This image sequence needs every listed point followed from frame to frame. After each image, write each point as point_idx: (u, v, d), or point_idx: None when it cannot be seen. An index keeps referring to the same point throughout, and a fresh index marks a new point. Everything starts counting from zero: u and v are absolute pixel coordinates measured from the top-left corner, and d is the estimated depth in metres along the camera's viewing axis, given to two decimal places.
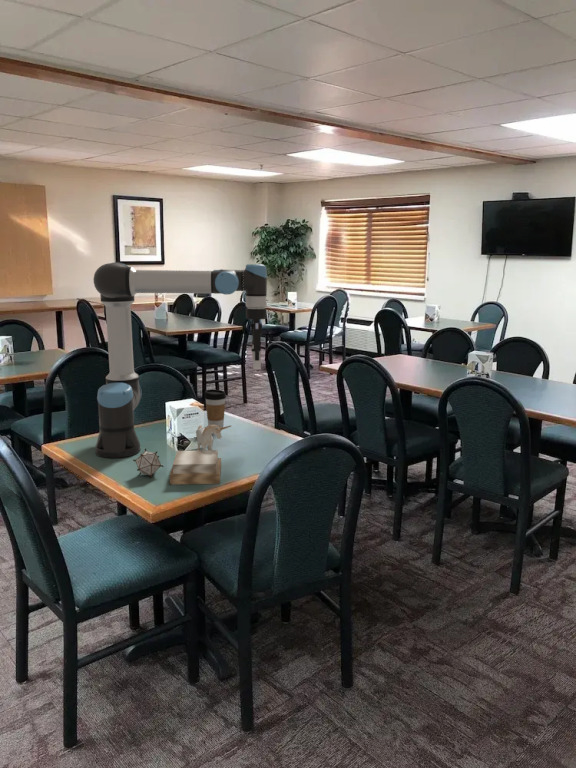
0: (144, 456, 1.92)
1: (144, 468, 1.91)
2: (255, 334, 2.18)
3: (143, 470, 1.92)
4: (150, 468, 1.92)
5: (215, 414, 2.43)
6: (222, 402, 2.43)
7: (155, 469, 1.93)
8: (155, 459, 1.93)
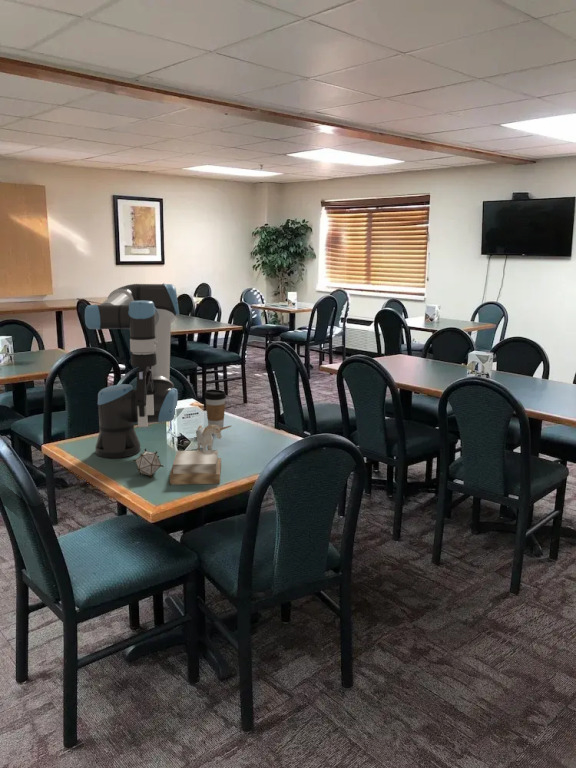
0: (144, 456, 1.92)
1: (144, 468, 1.91)
2: (138, 385, 1.81)
3: (143, 470, 1.92)
4: (150, 468, 1.92)
5: (215, 414, 2.43)
6: (222, 402, 2.43)
7: (155, 469, 1.93)
8: (155, 459, 1.93)
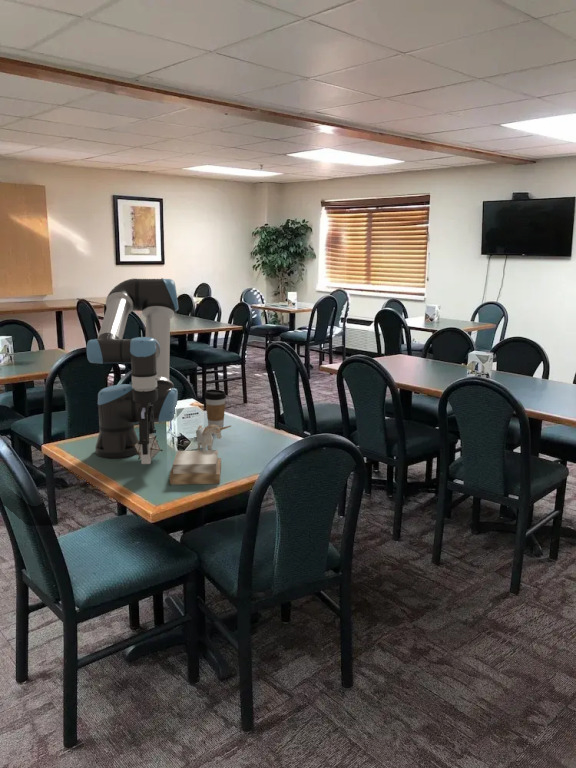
0: None
1: None
2: (141, 425, 1.85)
3: None
4: (150, 452, 1.91)
5: (215, 414, 2.43)
6: (222, 402, 2.43)
7: (154, 453, 1.93)
8: (154, 443, 1.93)
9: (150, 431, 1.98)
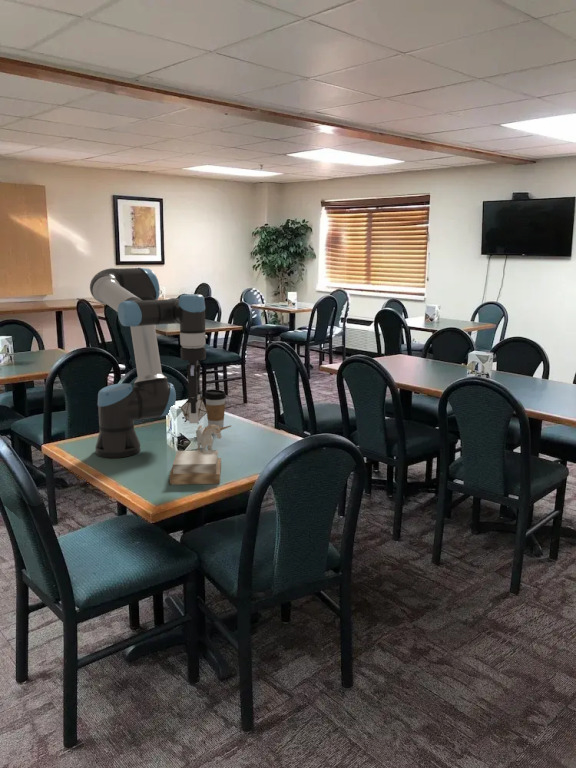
0: None
1: None
2: (190, 383, 1.82)
3: None
4: (198, 413, 1.88)
5: (215, 414, 2.43)
6: (222, 402, 2.43)
7: (202, 415, 1.90)
8: (202, 404, 1.90)
9: (196, 392, 1.95)
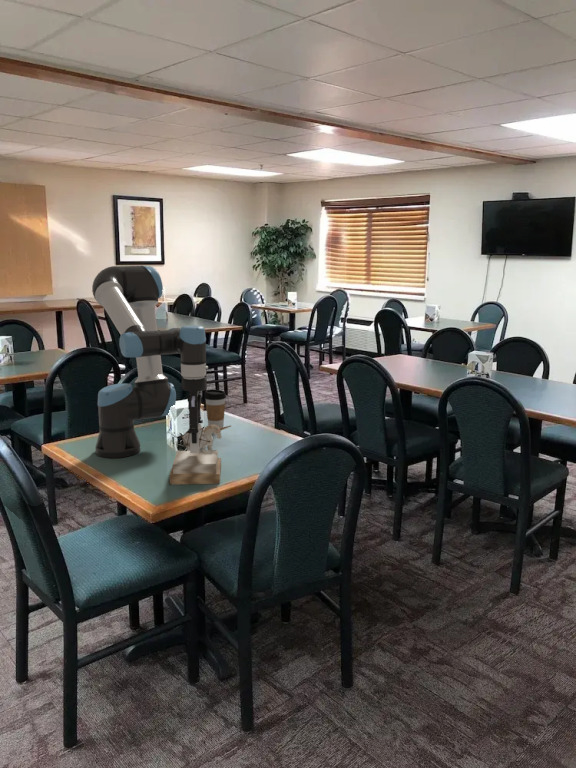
0: None
1: None
2: (191, 413, 1.84)
3: None
4: (199, 443, 1.90)
5: (215, 414, 2.43)
6: (222, 402, 2.43)
7: (202, 444, 1.92)
8: (203, 434, 1.92)
9: None
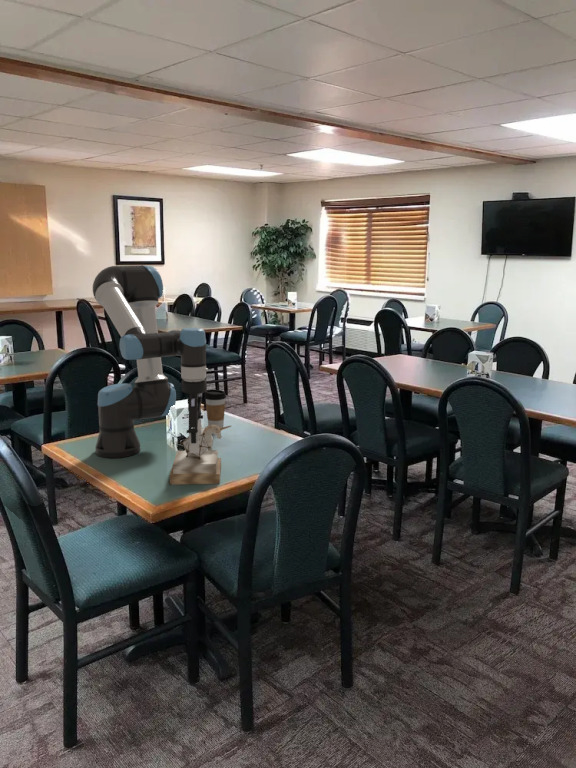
0: None
1: None
2: (191, 413, 1.83)
3: None
4: (199, 449, 1.90)
5: (215, 414, 2.43)
6: (222, 402, 2.43)
7: (203, 451, 1.92)
8: (203, 440, 1.92)
9: (197, 417, 1.99)
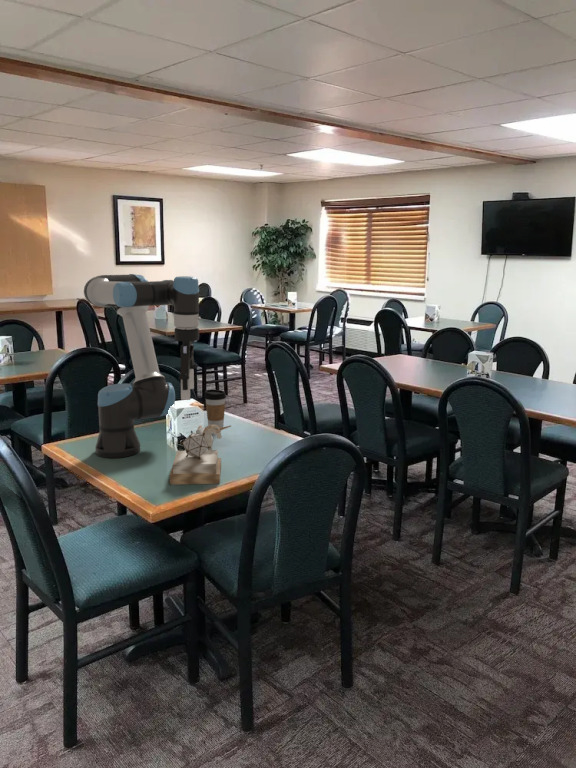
0: (192, 438, 1.91)
1: (193, 450, 1.90)
2: (182, 359, 1.86)
3: (192, 452, 1.90)
4: (199, 449, 1.90)
5: (215, 414, 2.43)
6: (222, 402, 2.43)
7: (203, 451, 1.92)
8: (203, 440, 1.92)
9: (190, 366, 2.02)
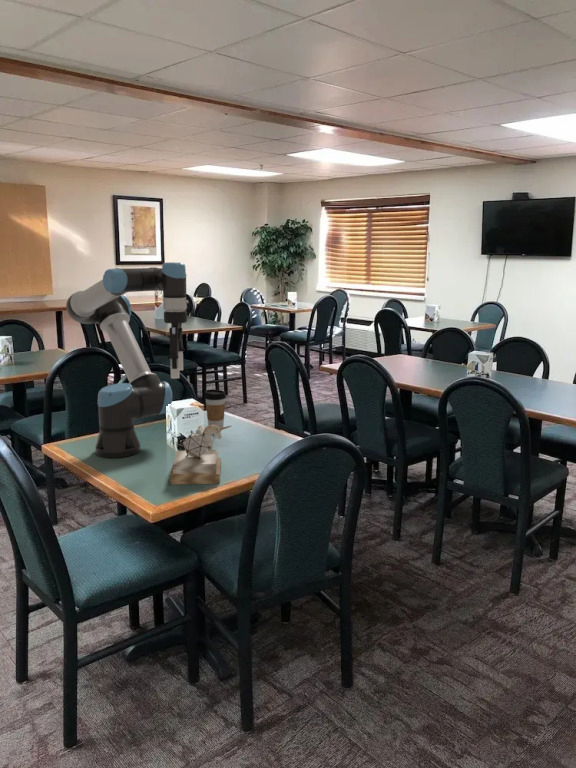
0: (192, 438, 1.91)
1: (193, 450, 1.90)
2: (171, 340, 1.97)
3: (192, 452, 1.90)
4: (199, 449, 1.90)
5: (215, 414, 2.43)
6: (222, 402, 2.43)
7: (203, 451, 1.92)
8: (203, 440, 1.92)
9: (179, 349, 2.13)
